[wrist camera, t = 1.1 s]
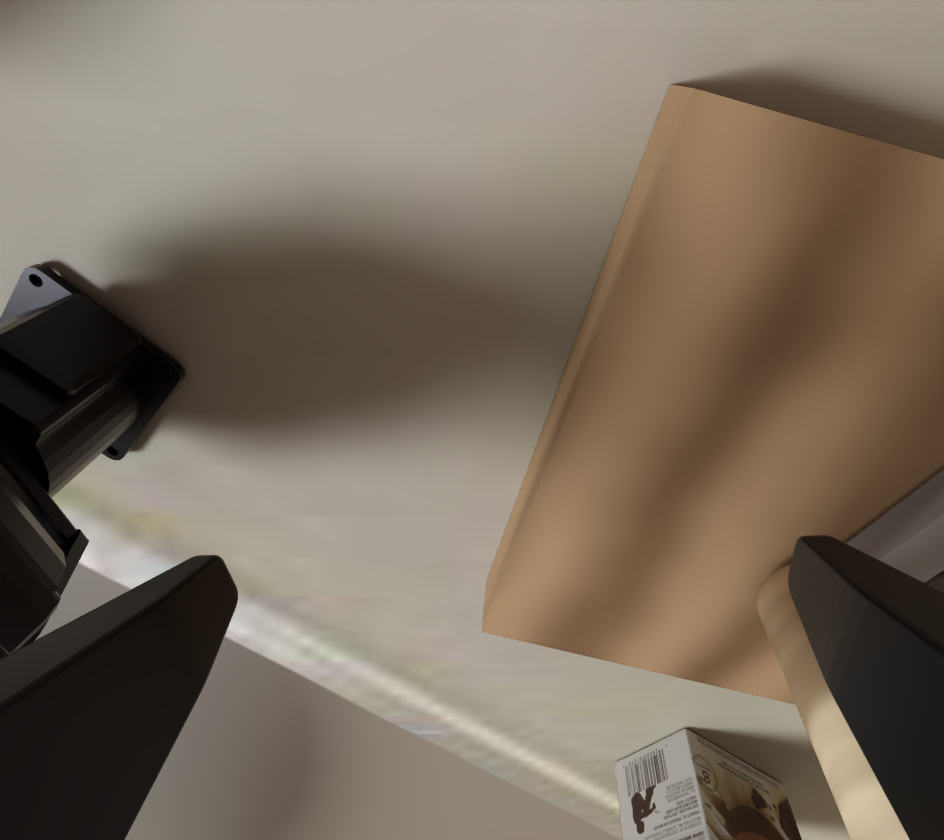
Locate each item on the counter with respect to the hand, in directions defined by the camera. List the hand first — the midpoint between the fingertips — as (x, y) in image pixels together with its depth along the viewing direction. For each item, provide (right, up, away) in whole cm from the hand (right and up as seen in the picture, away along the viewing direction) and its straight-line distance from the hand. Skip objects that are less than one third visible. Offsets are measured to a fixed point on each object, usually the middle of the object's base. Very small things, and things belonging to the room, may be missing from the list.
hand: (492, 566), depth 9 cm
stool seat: (+14, +1, +14) cm, 20 cm away
